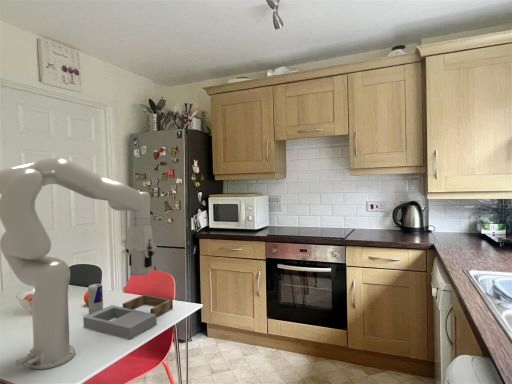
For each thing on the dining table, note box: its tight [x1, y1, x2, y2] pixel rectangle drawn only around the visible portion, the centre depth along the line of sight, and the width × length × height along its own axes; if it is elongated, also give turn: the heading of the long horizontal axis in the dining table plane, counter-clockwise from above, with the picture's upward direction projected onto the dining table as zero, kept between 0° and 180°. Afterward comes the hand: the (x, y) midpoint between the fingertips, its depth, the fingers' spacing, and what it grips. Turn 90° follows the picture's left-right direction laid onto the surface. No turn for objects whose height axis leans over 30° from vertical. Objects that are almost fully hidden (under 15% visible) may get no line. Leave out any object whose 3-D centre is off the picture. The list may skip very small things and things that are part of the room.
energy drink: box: [87, 283, 104, 315], centre depth 137 cm, size 5×5×12 cm
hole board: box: [82, 305, 158, 340], centre depth 125 cm, size 13×24×4 cm, turn 65°
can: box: [130, 248, 152, 277], centre depth 133 cm, size 8×8×12 cm
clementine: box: [83, 290, 89, 306], centre depth 148 cm, size 8×7×7 cm
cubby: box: [122, 294, 174, 318], centre depth 140 cm, size 12×16×4 cm
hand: (140, 265), depth 132 cm, fingers closed on can, 7 cm apart
